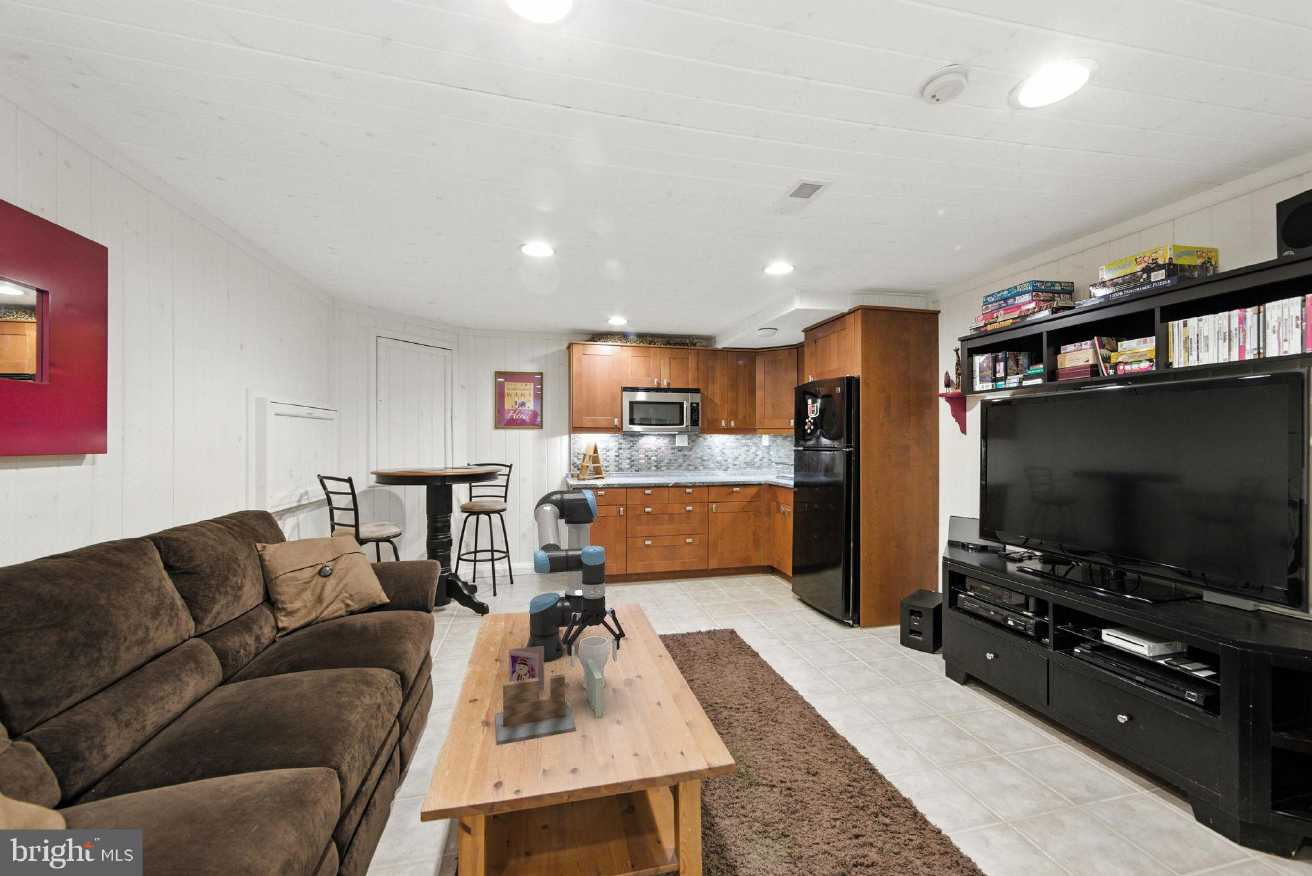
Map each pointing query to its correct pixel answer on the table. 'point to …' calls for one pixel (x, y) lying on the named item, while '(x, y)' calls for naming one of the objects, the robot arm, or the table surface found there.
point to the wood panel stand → (533, 711)
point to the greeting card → (527, 664)
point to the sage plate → (594, 687)
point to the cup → (594, 654)
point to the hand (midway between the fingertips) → (593, 663)
